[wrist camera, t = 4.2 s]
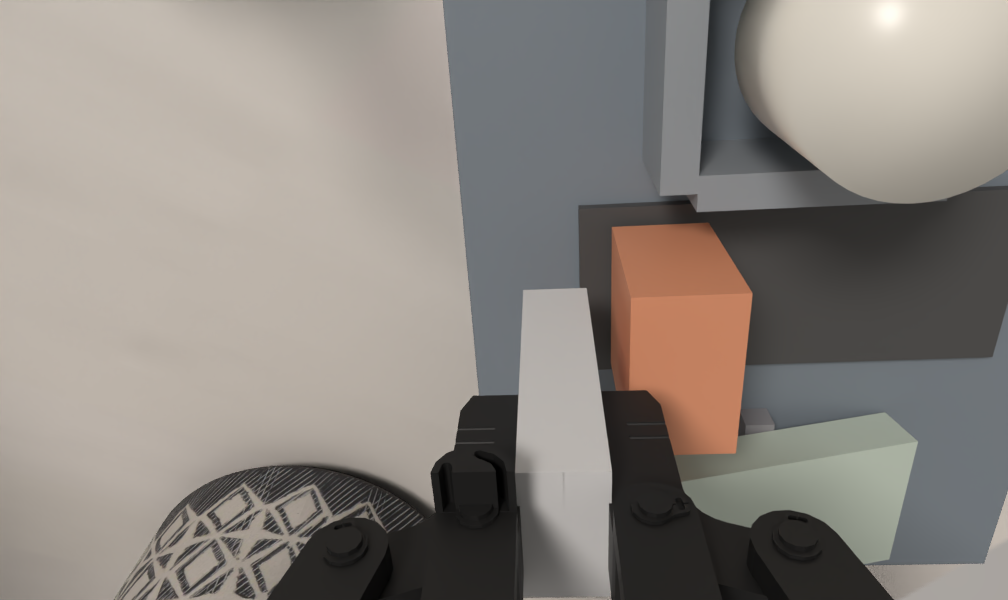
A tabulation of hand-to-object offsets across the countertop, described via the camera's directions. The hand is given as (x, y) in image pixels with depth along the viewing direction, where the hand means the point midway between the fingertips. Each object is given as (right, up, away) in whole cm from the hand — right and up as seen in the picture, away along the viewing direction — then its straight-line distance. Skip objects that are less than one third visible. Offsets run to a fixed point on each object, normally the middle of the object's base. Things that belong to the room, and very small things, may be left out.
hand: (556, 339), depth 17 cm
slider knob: (+3, +1, +1) cm, 3 cm away
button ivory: (+5, +6, -4) cm, 9 cm away
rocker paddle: (+6, -5, +3) cm, 9 cm away
